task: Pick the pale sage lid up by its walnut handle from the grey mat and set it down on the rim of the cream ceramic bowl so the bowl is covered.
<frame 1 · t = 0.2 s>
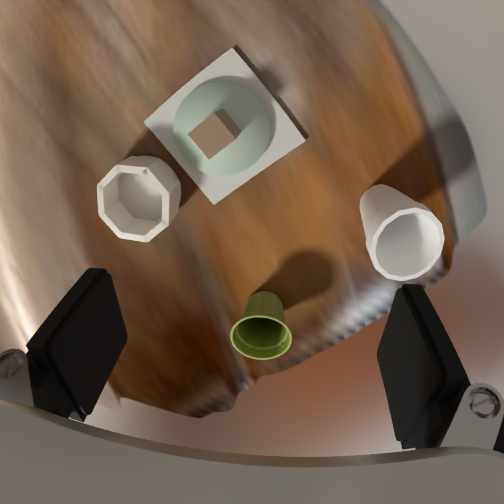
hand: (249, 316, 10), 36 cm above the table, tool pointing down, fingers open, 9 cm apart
bowl: (147, 190, 47), on the table
mat: (222, 127, 42), on the table
plant pot 2: (264, 303, 56), on the table
lid: (221, 128, 41), point 1 cm above the table, touching mat
foam cup: (379, 203, 45), on the table
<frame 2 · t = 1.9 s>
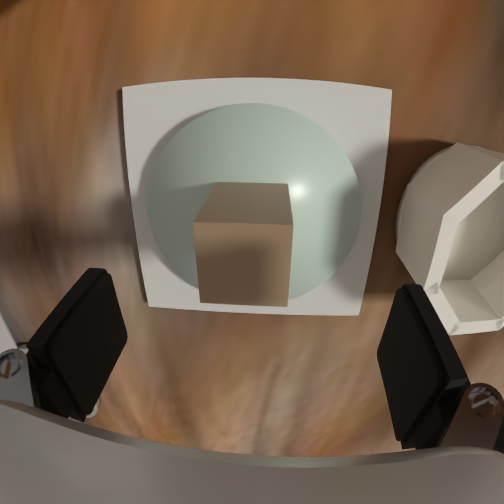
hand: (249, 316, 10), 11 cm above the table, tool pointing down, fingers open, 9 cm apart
bowl: (461, 219, 20), on the table
mat: (253, 206, 20), on the table
lid: (253, 209, 20), point 1 cm above the table, touching mat
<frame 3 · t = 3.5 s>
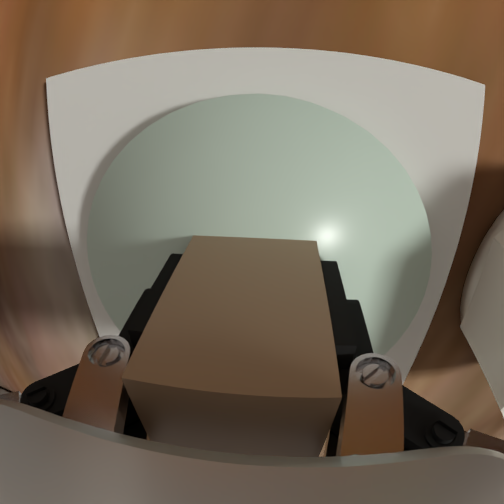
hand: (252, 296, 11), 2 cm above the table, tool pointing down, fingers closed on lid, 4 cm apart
mat: (256, 265, 13), on the table
lid: (255, 273, 12), point 1 cm above the table, touching gripper, mat
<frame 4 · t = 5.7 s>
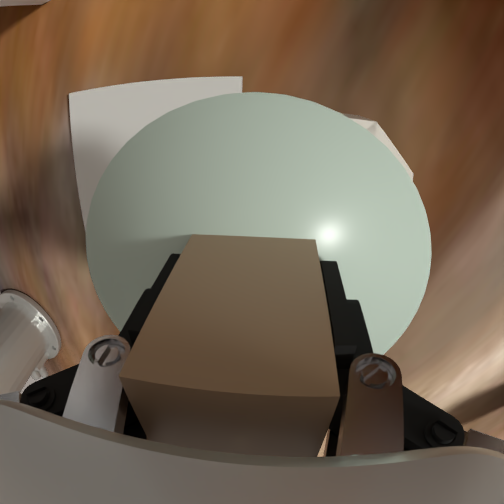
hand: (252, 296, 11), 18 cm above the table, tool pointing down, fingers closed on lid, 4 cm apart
bowl: (323, 175, 27), on the table
mat: (151, 169, 27), on the table
lid: (254, 272, 12), point 16 cm above the table, touching gripper
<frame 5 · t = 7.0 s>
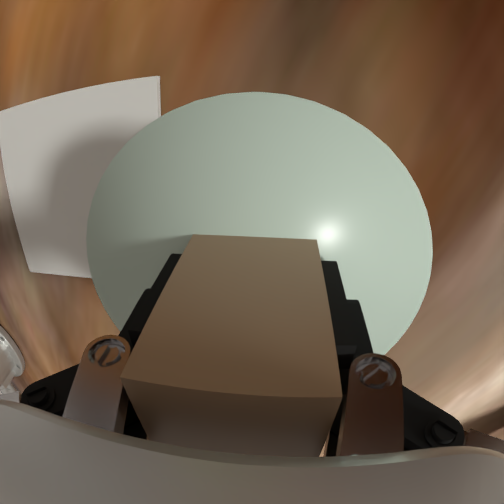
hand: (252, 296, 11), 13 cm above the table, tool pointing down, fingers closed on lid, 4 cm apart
mat: (75, 189, 23), on the table
lid: (255, 272, 12), point 11 cm above the table, touching gripper
when the fingers open (9 cm above the table, at t = 7.9 s): lid drops 1 cm, resting on bowl.
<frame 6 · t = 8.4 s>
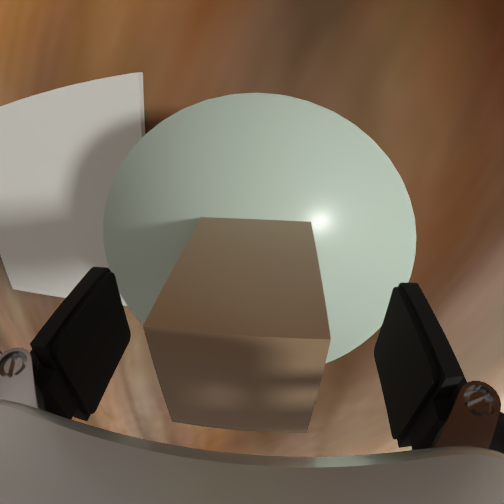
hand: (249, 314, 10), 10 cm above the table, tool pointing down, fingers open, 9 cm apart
mat: (54, 203, 20), on the table
lid: (256, 254, 14), point 6 cm above the table, touching bowl
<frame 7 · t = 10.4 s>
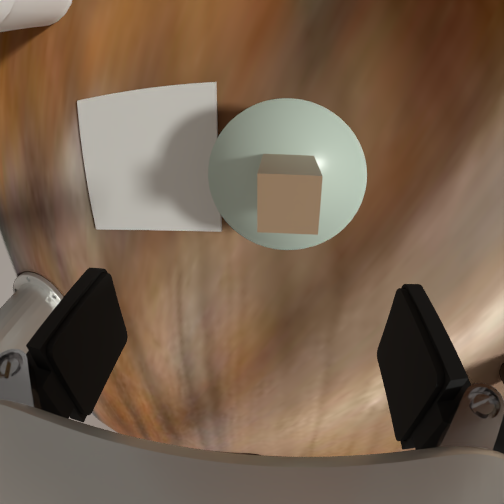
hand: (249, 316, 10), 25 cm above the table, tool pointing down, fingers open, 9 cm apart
mat: (146, 161, 33), on the table
lid: (287, 175, 26), point 6 cm above the table, touching bowl
foam cup: (54, 2, 23), on the table
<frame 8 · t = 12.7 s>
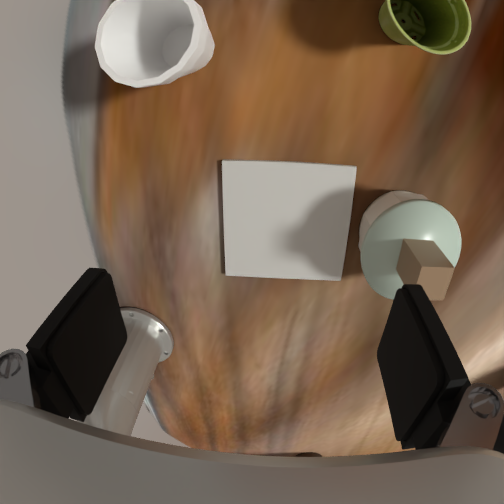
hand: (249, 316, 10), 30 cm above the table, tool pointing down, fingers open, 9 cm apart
bowl: (397, 229, 40), on the table
mat: (286, 222, 41), on the table
plant pot 2: (401, 22, 27), on the table
lid: (411, 250, 35), point 6 cm above the table, touching bowl
foam cup: (188, 48, 32), on the table
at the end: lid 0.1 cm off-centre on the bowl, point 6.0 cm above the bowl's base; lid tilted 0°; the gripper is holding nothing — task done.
